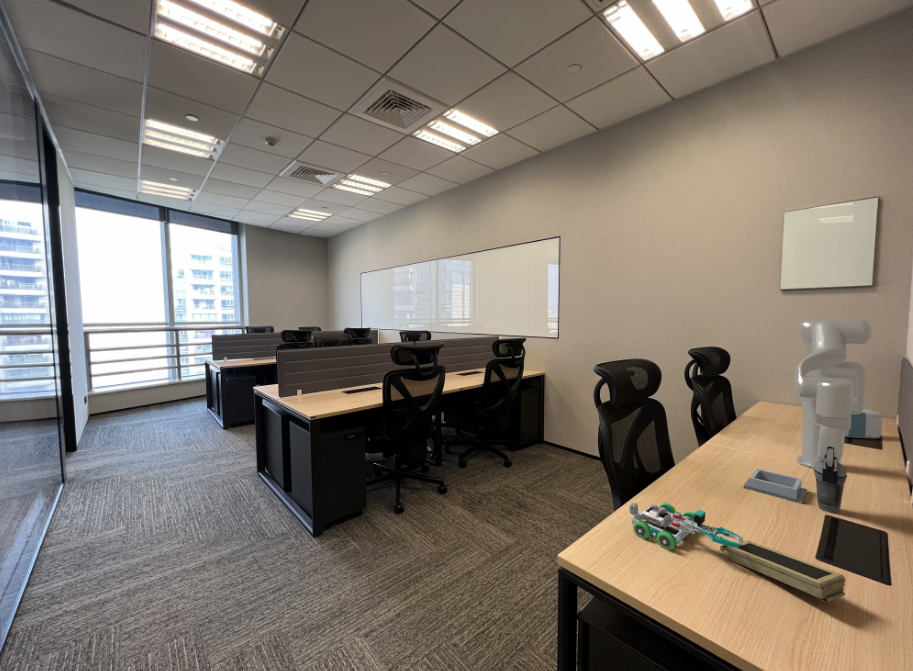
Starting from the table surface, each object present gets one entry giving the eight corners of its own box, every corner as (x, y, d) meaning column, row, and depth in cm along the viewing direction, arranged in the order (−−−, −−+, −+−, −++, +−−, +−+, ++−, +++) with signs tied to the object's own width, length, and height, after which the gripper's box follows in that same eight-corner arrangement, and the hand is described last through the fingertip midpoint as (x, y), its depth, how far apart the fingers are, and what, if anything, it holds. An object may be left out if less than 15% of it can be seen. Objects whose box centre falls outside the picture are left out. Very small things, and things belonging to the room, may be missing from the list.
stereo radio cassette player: (832, 438, 181) (834, 397, 180) (819, 433, 189) (820, 394, 189) (882, 440, 178) (884, 399, 177) (866, 434, 186) (868, 395, 185)
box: (827, 611, 72) (823, 584, 72) (713, 561, 93) (710, 540, 93) (851, 601, 75) (847, 574, 75) (735, 554, 96) (732, 534, 96)
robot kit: (729, 580, 83) (730, 540, 82) (621, 531, 103) (622, 498, 102) (753, 549, 94) (754, 513, 94) (652, 509, 114) (652, 480, 114)
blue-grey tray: (751, 478, 136) (751, 467, 136) (807, 492, 124) (807, 480, 124) (743, 487, 128) (744, 476, 128) (802, 503, 117) (803, 491, 116)
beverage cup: (836, 505, 115) (838, 442, 114) (852, 517, 108) (854, 451, 107) (807, 502, 118) (808, 440, 117) (820, 513, 111) (823, 448, 110)
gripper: (818, 414, 120) (816, 467, 121) (812, 424, 109) (810, 483, 109) (852, 418, 114) (850, 474, 115) (849, 430, 103) (847, 492, 104)
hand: (830, 478), depth 112 cm, fingers closed on beverage cup, 7 cm apart
